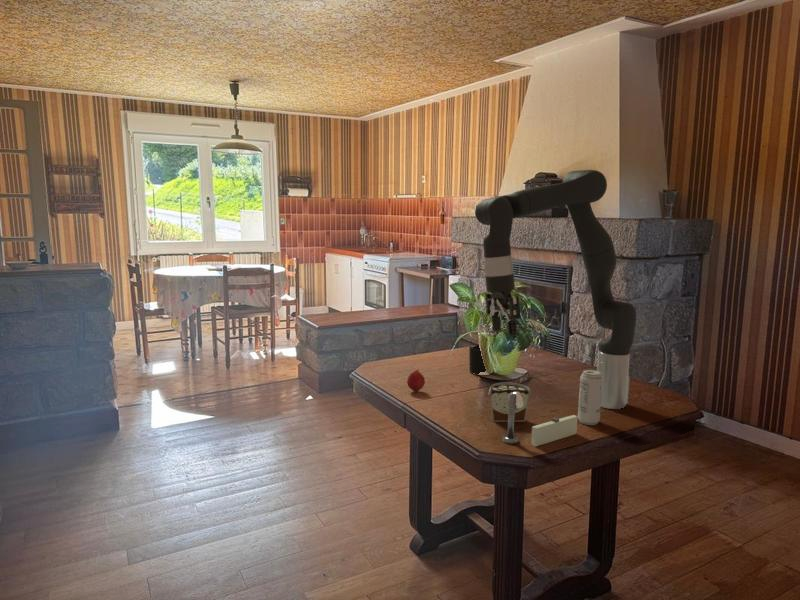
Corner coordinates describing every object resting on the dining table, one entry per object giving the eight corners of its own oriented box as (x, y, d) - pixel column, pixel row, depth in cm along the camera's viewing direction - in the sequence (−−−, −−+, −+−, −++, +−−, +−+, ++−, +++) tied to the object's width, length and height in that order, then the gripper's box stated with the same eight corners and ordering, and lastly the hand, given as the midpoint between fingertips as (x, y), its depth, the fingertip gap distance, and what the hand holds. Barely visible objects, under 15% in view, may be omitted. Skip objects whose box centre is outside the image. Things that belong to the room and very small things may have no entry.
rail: (572, 432, 151) (573, 412, 151) (576, 433, 150) (577, 413, 149) (531, 444, 143) (532, 423, 142) (535, 446, 142) (536, 425, 141)
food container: (524, 413, 165) (526, 381, 163) (529, 421, 159) (531, 388, 157) (483, 413, 165) (485, 381, 163) (487, 421, 159) (489, 388, 157)
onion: (413, 396, 180) (413, 372, 179) (403, 391, 185) (404, 368, 183) (427, 393, 183) (428, 369, 182) (418, 388, 188) (418, 365, 187)
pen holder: (495, 376, 202) (496, 350, 201) (470, 376, 202) (471, 349, 201) (491, 369, 212) (492, 344, 210) (467, 369, 212) (468, 343, 210)
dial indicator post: (510, 436, 148) (512, 389, 146) (522, 442, 145) (524, 394, 142) (498, 439, 146) (500, 392, 144) (510, 445, 142) (512, 396, 140)
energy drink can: (601, 426, 156) (605, 375, 153) (579, 425, 156) (583, 374, 154) (596, 418, 162) (600, 369, 159) (575, 417, 162) (578, 368, 160)
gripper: (525, 272, 140) (531, 334, 143) (498, 270, 154) (503, 326, 156) (500, 276, 138) (505, 339, 140) (474, 274, 152) (480, 331, 154)
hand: (504, 332), depth 148 cm, fingers open, 8 cm apart
